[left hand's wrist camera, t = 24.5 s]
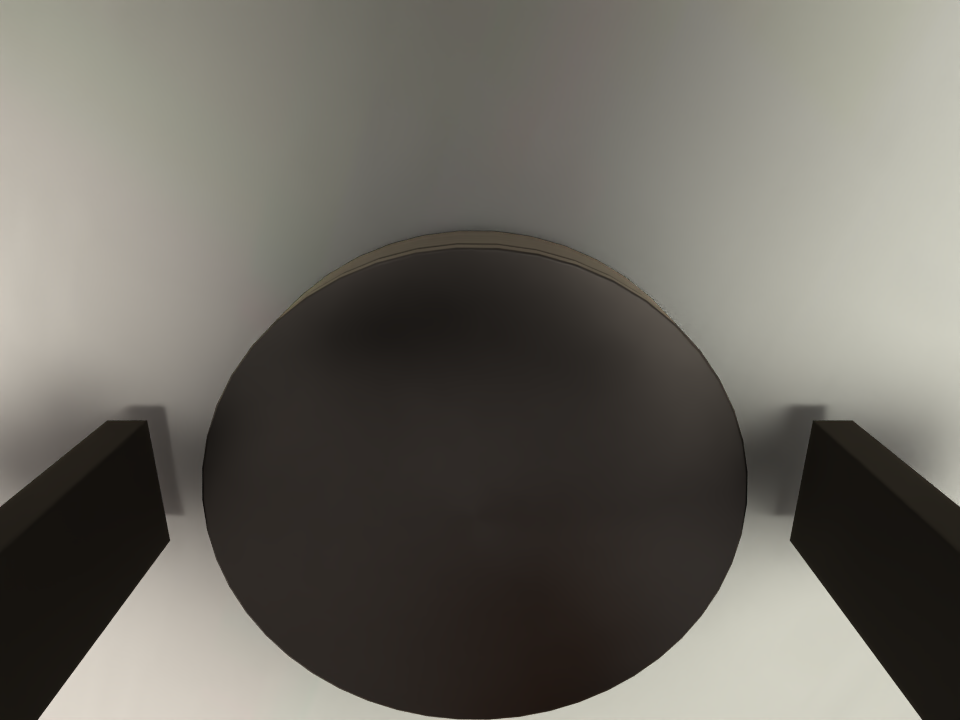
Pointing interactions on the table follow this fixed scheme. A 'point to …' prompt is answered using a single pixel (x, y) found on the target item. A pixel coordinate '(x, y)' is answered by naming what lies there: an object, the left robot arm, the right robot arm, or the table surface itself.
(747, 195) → the table surface
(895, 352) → the table surface
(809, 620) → the table surface
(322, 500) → the lid
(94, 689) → the table surface
